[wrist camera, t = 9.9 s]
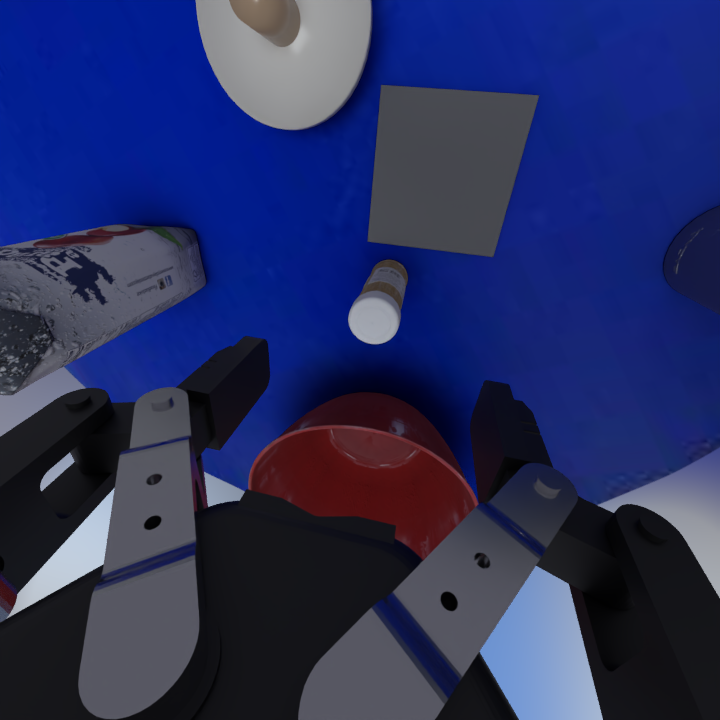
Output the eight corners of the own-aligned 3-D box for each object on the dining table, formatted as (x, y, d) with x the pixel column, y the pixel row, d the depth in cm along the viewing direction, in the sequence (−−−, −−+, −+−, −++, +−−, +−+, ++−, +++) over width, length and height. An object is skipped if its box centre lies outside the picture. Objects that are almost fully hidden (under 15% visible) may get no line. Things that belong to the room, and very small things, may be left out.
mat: (537, 96, 30) (539, 95, 29) (492, 255, 37) (493, 257, 37) (382, 86, 31) (381, 85, 31) (368, 240, 39) (367, 241, 38)
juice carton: (216, 291, 46) (2, 419, 23) (148, 284, 48) (-115, 398, 25) (202, 222, 41) (-83, 296, 19) (127, 217, 43) (-219, 281, 20)
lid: (382, -116, 22) (366, -201, 17) (364, 136, 30) (349, 131, 24) (189, -114, 24) (121, -191, 19) (218, 124, 31) (174, 116, 26)
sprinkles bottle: (364, 281, 41) (338, 327, 30) (384, 250, 39) (364, 287, 28) (394, 302, 42) (380, 354, 31) (416, 272, 40) (409, 317, 28)
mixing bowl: (499, 382, 45) (526, 472, 32) (436, 507, 60) (437, 603, 47) (299, 332, 47) (246, 398, 34) (287, 465, 62) (248, 547, 49)
